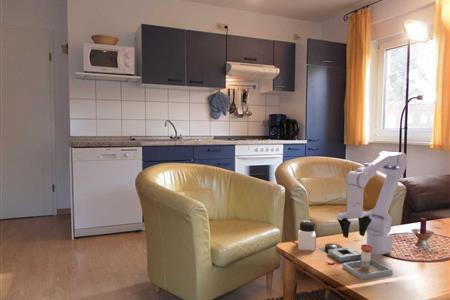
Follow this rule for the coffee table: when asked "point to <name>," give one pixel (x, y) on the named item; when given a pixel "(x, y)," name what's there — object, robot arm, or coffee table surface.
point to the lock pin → (365, 257)
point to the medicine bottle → (306, 236)
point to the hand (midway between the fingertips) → (353, 236)
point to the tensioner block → (341, 253)
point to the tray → (368, 275)
